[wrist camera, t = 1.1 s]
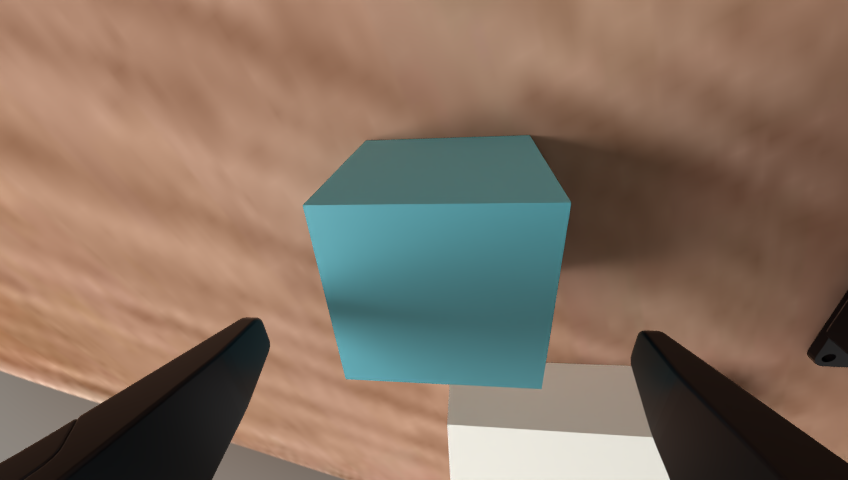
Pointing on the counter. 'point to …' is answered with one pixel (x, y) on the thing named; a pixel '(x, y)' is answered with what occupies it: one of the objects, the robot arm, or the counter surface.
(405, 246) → the teal cube
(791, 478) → the robot arm
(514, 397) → the off-white block
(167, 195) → the counter surface
